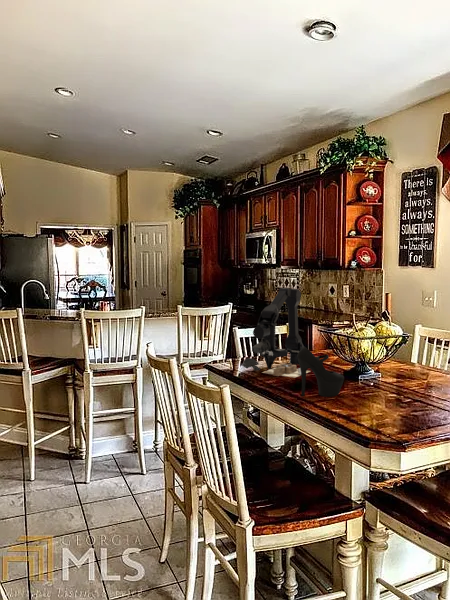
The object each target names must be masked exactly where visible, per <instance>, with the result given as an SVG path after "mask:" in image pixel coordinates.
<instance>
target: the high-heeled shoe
mask: <svg viewBox="0 0 450 600" xmlns="http://www.w3.org/2000/svg"><path fill="white" fill-rule="evenodd" d="M297 358H298V361H299V364H298V365H299V368H300V370H301V392H300V393H301V394H300V395H301V396H305V395H306V384H307V383H306V382H307V381H306V380H307V373H306V371H308V370H309V369H310V371H311V372H313V375H314V376H315V378H316V383H317V388H318V395H319V396H320V397H324V398H328V397H330V398H332V397H336V396H338V395H339V394H340V391H341V389H342V386H343V383H344V381H345V376H344V375H343V374H340V373H338V372H336V371H334V370H332V371H330V370H329V371H328V370H327V369H326V368H325V366H324V364H323V363H324V362H325V361H326V360H328V359H329V354H322V355H317V356H315V354H314V353H312V351H310V349H309V348H307V347H306V346H304V347H303V348H302V349H301V350H300V351H299V353H298V355H297Z"/></svg>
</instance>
